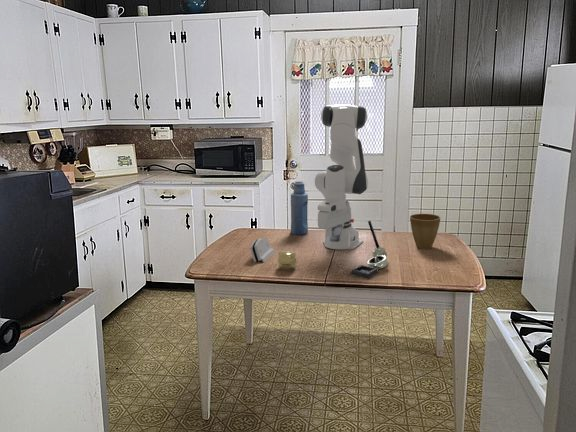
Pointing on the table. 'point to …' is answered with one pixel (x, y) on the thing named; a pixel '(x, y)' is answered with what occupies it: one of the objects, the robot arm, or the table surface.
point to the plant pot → (424, 229)
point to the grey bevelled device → (261, 250)
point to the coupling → (336, 234)
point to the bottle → (299, 209)
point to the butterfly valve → (377, 253)
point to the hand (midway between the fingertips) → (335, 234)
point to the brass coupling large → (287, 260)
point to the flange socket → (364, 271)
